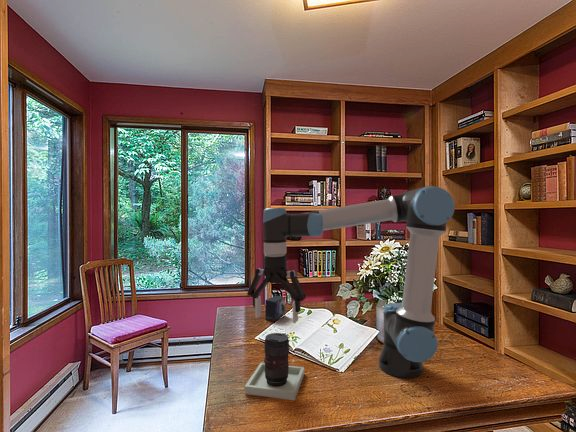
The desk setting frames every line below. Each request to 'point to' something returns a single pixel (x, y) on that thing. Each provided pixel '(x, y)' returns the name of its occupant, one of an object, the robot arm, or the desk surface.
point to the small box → (274, 308)
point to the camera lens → (276, 359)
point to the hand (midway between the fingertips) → (276, 319)
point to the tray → (287, 391)
